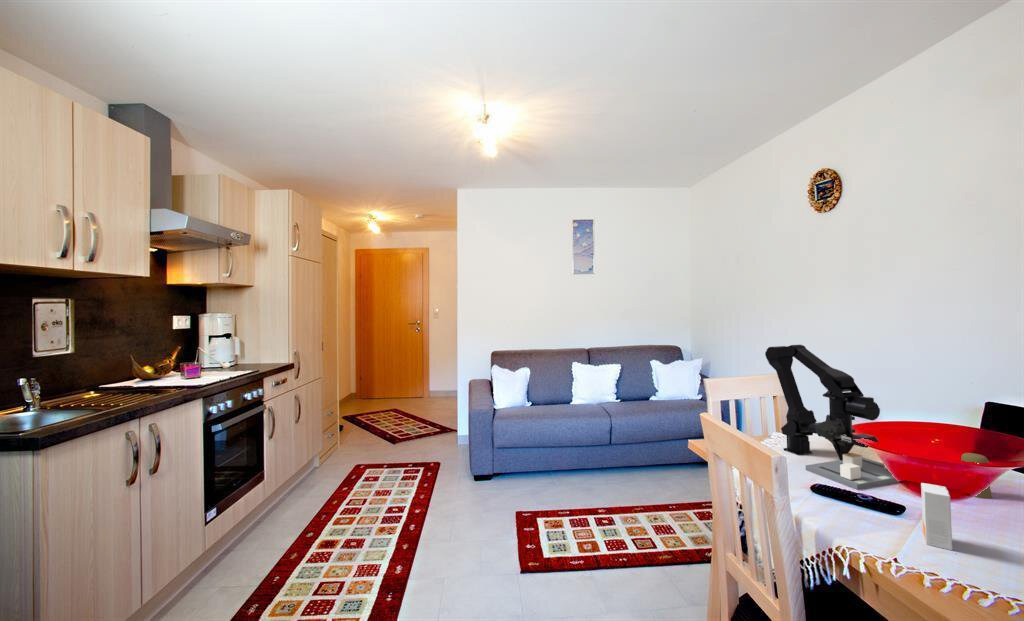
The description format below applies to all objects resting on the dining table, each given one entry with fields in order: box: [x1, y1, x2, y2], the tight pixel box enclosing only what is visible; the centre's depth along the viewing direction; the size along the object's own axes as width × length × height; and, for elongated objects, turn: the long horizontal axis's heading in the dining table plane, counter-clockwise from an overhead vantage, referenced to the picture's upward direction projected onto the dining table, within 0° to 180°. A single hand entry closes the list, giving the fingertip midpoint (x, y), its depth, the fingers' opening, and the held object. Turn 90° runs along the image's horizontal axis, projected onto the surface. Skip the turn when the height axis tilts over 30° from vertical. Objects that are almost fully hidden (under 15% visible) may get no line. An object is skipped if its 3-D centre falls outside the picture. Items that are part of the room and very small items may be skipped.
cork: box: [960, 452, 993, 500], centre depth 117 cm, size 6×6×11 cm
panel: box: [805, 456, 899, 491], centre depth 132 cm, size 16×24×2 cm, turn 105°
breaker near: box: [840, 463, 861, 480], centre depth 126 cm, size 3×4×4 cm
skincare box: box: [920, 482, 953, 551], centre depth 94 cm, size 6×4×12 cm
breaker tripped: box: [843, 452, 863, 468], centre depth 134 cm, size 3×4×4 cm
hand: (842, 460), depth 137 cm, fingers closed
